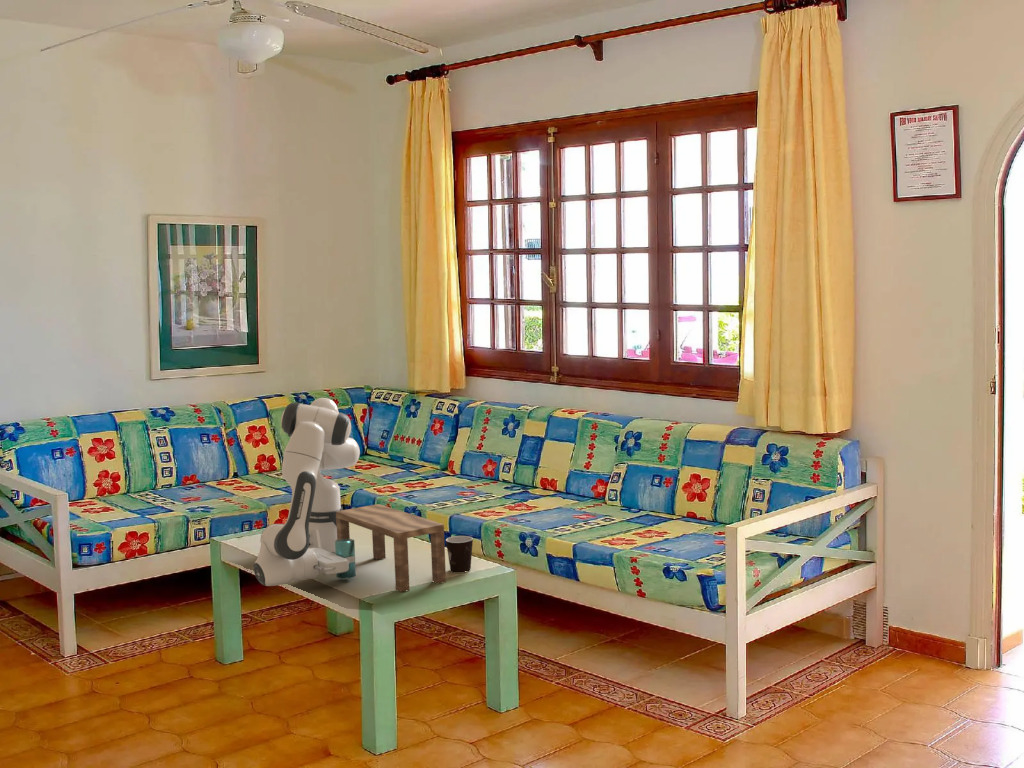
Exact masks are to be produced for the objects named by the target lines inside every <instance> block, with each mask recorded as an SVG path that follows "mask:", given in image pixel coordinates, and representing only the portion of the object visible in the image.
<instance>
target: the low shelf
mask: <svg viewBox="0 0 1024 768" xmlns="http://www.w3.org/2000/svg"><path fill="white" fill-rule="evenodd" d="M350 523H351V524H352V525H356V526H357V527H358V526H359V527H362V528H365V529H367V530H370V531H371V532H372V534H371V535H372V536H371V537H372V538H371V539H372V555H373V556H372V557H373V559H374V558H375V560H377V559H380V560H384V559H383V558H385V559H386V558H387V557H386V555H387V554H386V537H389V538H392V539H393V552H394V553H393V557H394V580H395V590H398V591H397V592H399V591H400V592H399V593H402V592H401V591H405V592H407V591H406V590H409V591H410V567H409V566H410V565H409V545H408V544H409V543H408V542H409V541H408V539H409V538H410V539H411V538H415V537H420V536H426V535H430V549H431V551H430V552H431V553H430V554H431V557H430V558H431V578H432V581H434V582H436V583H435V584H437V583H439V584H443V583H447V575H446V574H447V573H446V571H447V569H446V548H445V545H446V542H445V524H444V523H440V522H437V521H434V520H432V519H427V518H425V517H421V516H418V515H415V514H412V513H409V512H405V511H402V510H399V509H395V508H393V507H389V506H386V505H382V504H380V503H377V504H372V505H365V506H360V507H355V508H354V507H353V508H350V509H349V508H348V509H342V511H336V524H337V540H340V539H351V538H350ZM385 536H386V537H385ZM434 582H433V583H434ZM442 582H443V583H442Z"/></svg>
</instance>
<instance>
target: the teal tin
mask: <svg viewBox="0 0 1024 768" xmlns="http://www.w3.org/2000/svg"><path fill="white" fill-rule="evenodd" d="M355 546H356V545H355V539H353V538H350V539H340V540H336V541H335V554H336V555H338V556H340V557H343V558H346V557H347V556H354V557H355V558H356V547H355ZM356 566H357V565H356V560H355V561H354V562H352V563H349V570H348V571H346V572H342V573H335V574H336V578H338V579H352V578H354V577H356V576H357V567H356Z"/></svg>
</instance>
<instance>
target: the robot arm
mask: <svg viewBox="0 0 1024 768" xmlns="http://www.w3.org/2000/svg"><path fill="white" fill-rule="evenodd" d="M280 421H281V422H280V423H281V429H282V430H283V432H284V433H285V434H287V436H288V437H290V438H289V440H288V443H287V445H286V447H285V449H284V451H283V459H282V464H281V465H282V467H281V475H282V476H283V479H284V480H285V481H286V483H288V485H289V486H290V488H291V489H290V490H291V493H292V494H291V500H290V505H289V506H290V507H289V511H288V516H287V520H286V522H285V523H272V524H269V525H268V526H266V527H265V528H264V529H263V530H262V533H261V535H260V547H259V553H258V556H257V559H256V560H255V561H254V564H253V573H254V576H255V578H256V579H257V581H258V582H259V584H261V585H263V586H264V587H265V586H266V587H275V586H281V585H287V584H290V583H291V582H294V581H295V582H300V581H305V580H311V579H315V578H317V577H318V576H319V575H318V574H319V573H323V574H324V575H333V574H336V573H342V572H346V571H348V570H349V563H352V562H354V561H355V562H356V556H355V557H354V556H347V557H346V558H343V557H340V556H338V555H336V554H335V541H336V540H337V524H336V511H342V510H343V507H342V506H341V489H340V486H339V484H338V483H337V482H336V481H334V480H332V479H329V478H327V477H324V476H323V475H322V473H321V471H326V470H327V471H328V470H341V469H345V468H349V467H352V466H353V467H354V466H355V465H356V464H357V462H358V461H359V459H360V455H361V451H360V446H359V443H358V442H357V441H356V440H355V439H354V438H352V437H350V435H351V432H352V423H351V422H352V421H351V419H350V417H349V416H348V415H347V414H345V413H343V412H339V408H338V405H337V404H336V403H335V401H334V400H332V399H331V398H328V397H319V398H316V399H315V400H313V401H312V402H311V404H305V403H303V404H302V403H301V402H291V403H289V404H288V405H286V407H285V408H284V410H283V412H282V414H281V418H280Z"/></svg>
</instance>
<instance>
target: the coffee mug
mask: <svg viewBox="0 0 1024 768" xmlns="http://www.w3.org/2000/svg"><path fill="white" fill-rule="evenodd" d="M473 543H474V538H473V537H472V536H466V535H456V536H449V537H447V538H446V539H445V545H446V549H447V550H446V551H447V557H448V561H449V562H448V564H449V569H450V572H451V571H452V572H451V573H454V572H464V573H466V572H465V571H468V572H470V571H471V570H470V569H472V557H473V555H472V554H473V545H474V544H473ZM469 570H470V571H469Z"/></svg>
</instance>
